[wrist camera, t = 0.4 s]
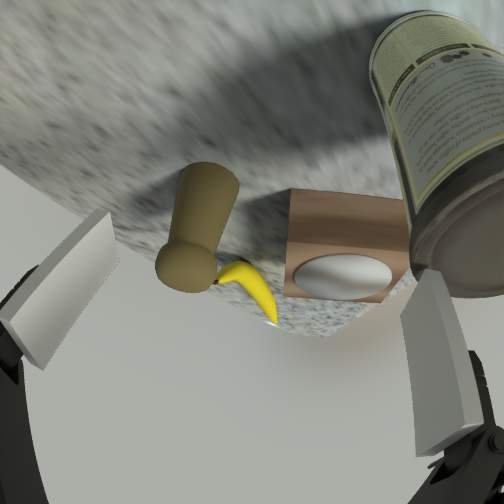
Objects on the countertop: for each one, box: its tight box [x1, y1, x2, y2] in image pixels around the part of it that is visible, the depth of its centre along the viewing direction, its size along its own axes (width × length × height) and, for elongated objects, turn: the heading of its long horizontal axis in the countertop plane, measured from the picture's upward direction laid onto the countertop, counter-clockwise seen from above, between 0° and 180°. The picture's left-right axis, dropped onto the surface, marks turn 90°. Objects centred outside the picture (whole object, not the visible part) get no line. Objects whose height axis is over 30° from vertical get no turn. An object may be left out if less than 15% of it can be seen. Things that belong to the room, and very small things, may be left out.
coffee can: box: [369, 11, 504, 298], centre depth 12 cm, size 10×10×14 cm
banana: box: [213, 261, 277, 324], centre depth 43 cm, size 3×19×6 cm, turn 25°
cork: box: [155, 162, 239, 293], centre depth 27 cm, size 6×6×11 cm
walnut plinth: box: [283, 189, 410, 303], centre depth 31 cm, size 12×12×6 cm
